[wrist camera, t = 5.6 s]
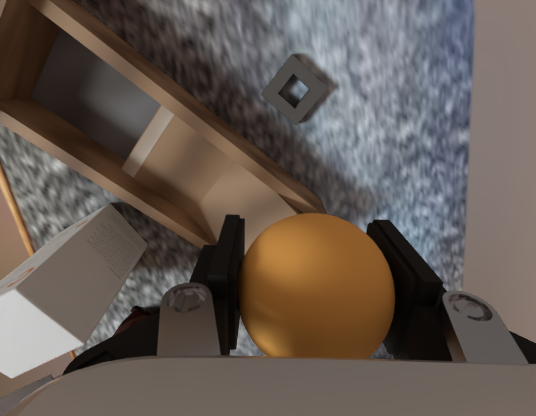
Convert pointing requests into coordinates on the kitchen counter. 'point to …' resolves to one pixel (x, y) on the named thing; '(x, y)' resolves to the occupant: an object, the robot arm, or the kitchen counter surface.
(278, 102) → the square washer
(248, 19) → the kitchen counter surface
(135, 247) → the small box
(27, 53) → the brown long open tray
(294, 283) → the ball
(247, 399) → the robot arm
